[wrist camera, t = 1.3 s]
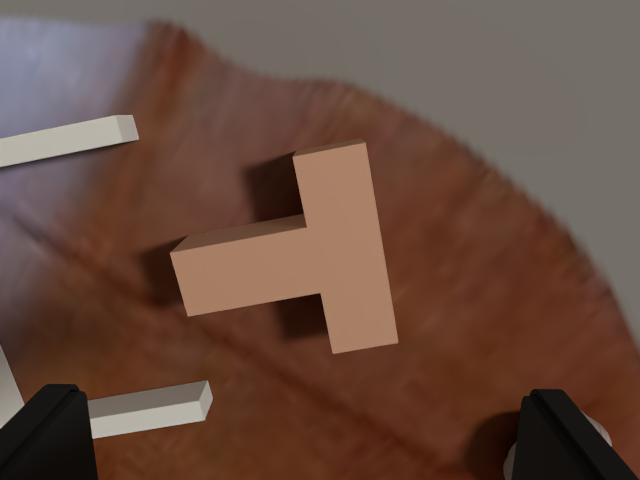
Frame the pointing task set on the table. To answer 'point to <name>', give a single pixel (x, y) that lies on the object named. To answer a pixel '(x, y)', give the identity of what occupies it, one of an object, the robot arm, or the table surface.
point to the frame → (120, 410)
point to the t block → (303, 253)
